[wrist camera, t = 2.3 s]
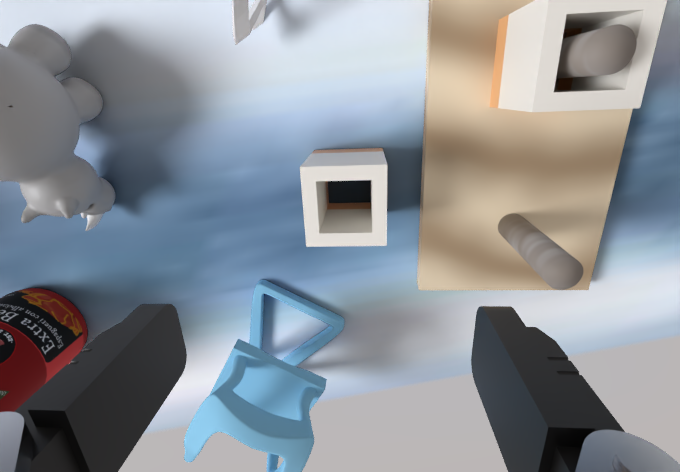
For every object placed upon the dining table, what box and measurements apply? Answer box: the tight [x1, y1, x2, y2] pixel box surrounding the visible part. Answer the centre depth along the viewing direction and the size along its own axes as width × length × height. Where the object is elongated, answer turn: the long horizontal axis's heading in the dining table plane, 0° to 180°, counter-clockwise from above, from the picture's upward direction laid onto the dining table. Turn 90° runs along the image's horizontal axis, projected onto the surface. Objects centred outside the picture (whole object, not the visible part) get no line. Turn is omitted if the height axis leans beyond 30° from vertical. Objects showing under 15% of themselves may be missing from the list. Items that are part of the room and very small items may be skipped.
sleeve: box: [300, 148, 387, 247], centre depth 23 cm, size 5×5×6 cm
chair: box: [184, 280, 344, 472], centre depth 25 cm, size 8×8×12 cm
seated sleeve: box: [490, 0, 667, 112], centre depth 18 cm, size 5×5×6 cm
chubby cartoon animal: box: [0, 24, 115, 231], centre depth 22 cm, size 7×12×8 cm, turn 7°
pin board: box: [417, 0, 637, 290], centre depth 20 cm, size 20×12×8 cm, turn 2°
